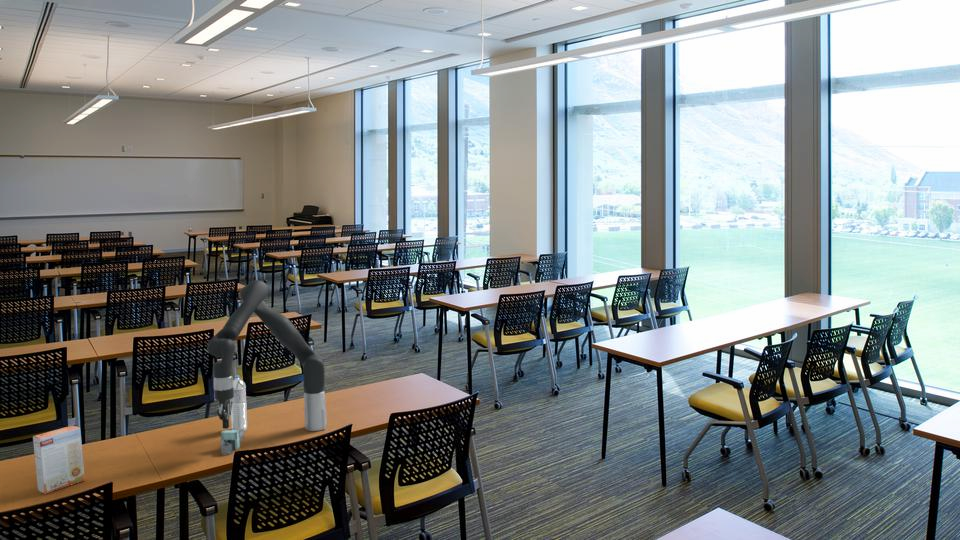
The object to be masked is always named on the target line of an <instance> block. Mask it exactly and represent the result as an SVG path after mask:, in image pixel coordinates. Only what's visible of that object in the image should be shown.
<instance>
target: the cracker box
mask: <svg viewBox="0 0 960 540" xmlns="http://www.w3.org/2000/svg"><path fill="white" fill-rule="evenodd" d="M32 441H33V452H34V461H35V473H36V474H35V475H36V483H37V491H38V490H39V491H41V492H43V493H47V492H50V491H53V490H56V489H59V488H62V487H65V486H67V485H71V484H74V483H77V484H80V483H83V482H85V478H86V477H85V471H84V470H85V466H84V457H83V455H84V453H83V446H82V433H81V427H79V426H76V425H68V426H66V427H61V428H58V429H55V430H50V431H47V432H43V433H40V434H36V435H33V436H32ZM82 481H83V482H82ZM79 482H80V483H79ZM74 485H75V484H74ZM71 486H72V485H71ZM65 488H66V487H65ZM62 489H63V488H62ZM39 491H38V492H39ZM41 492H40V493H41ZM43 493H42V494H43Z"/></svg>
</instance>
